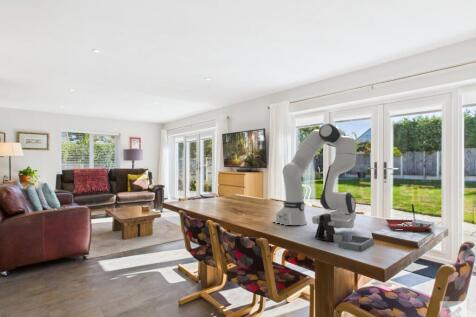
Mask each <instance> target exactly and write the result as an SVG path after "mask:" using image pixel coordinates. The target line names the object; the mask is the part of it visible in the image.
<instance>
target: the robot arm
mask: <svg viewBox="0 0 476 317" xmlns="http://www.w3.org/2000/svg"><path fill="white" fill-rule="evenodd" d="M324 145H327V146H330V147H332V148H333V147H334V148H335V157H334V160H333V162H332V164H330V165H329V167H328V169H327V173H326V176H325V181H324V185H323V190H322V192H321V195H320V199H319V202H320V205H321V206H322V207H323V208H324V209H325V210H335V211H331V212H330V213H329V214H330V215H331V222H328V225H331V226H333V227H334V229H353V228H354V226H355V224H354V223H355V221H356V219H357V212H356V206H357V205H356V204H357V203H356V199H355V197H354V196H353V194H352V193H351V192H345V191H343V192H342V191H341V192H340V191H339V192H337V191H334V192H333V190H334V186H335V182H336V181H335V180H336V179H337V177H338V176H340V175H342V174H343V173H347V172H349V171H350V170H352V169H353V168H354V167H355V165H356V163H357V162H356V161H357V146H356V140H355V139H354V138H353V137H351V136H349V135H346V133H345V132H344V131H343V130H342V129H341V128H340V127H337V126H336V125H335V124H332V123H324V124H322V125H321V127H320V128H319V129H314V130H312V131H311V132H309V134H308V135H307V136H306V137H305V138H304V140H303V141H302V143H301V144H300V146H299V147H298V149H297V150H296V152H295V154H294V156H293V158H292V160H291V161H290V162H289V163H287V164H285V165H284V166H283V169H282V176H283V183H284V188H285V201H284V202H283V207H282V208H281V209H279V211H277V212H276V214H275V219H274V220H275V221H274V222H277V223H281V224H284V225H283V226H285V225H300V226H305V224H306V225H307V224H308V222H307V220H306V214H305V201H304V187H303V182H302V177H303V176H304V174H305V173H306V172H307V171H306V170H307V169H308V167H309V166H310V164H311V162H312V161H313V159H314V158H315V157H316V155H317V154H318V152H319V151H320V149H321V148H322V147H323V146H324ZM320 215H321V214H320ZM320 215H319V214H318V215H313V216H312V219H311V220H312V224H315V225H318V224H319V216H320ZM277 223H276V224H277ZM281 224H280V225H281ZM323 225H324V223H323Z"/></svg>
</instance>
